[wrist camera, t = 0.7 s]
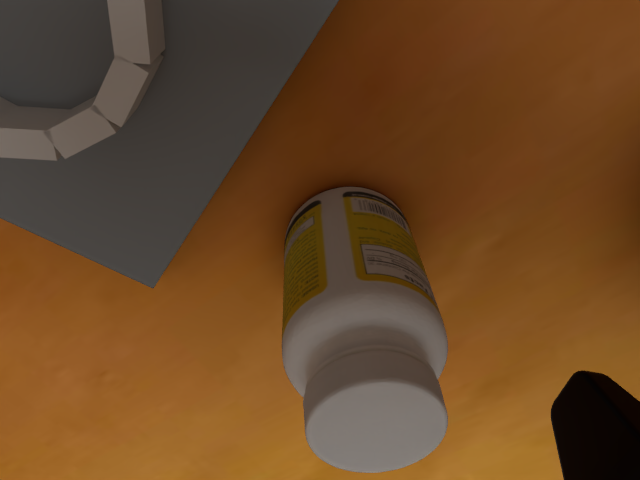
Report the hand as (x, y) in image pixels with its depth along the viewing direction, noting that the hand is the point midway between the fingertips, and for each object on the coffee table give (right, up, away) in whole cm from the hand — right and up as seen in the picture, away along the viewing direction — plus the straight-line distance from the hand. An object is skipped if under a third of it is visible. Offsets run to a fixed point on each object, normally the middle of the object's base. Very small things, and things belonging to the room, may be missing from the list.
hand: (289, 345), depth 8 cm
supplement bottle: (+2, +2, +15) cm, 15 cm away
